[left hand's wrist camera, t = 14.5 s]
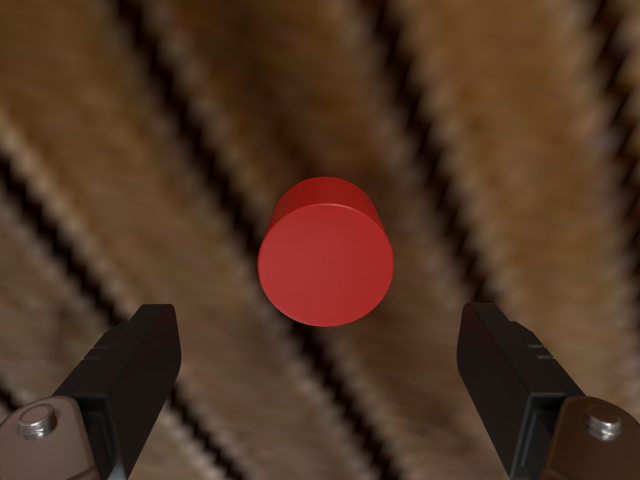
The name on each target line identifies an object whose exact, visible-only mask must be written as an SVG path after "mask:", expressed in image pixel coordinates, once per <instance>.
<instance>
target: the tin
mask: <svg viewBox="0 0 640 480" xmlns="http://www.w3.org/2000/svg"><path fill="white" fill-rule="evenodd" d="M393 272H394V256H393V251H392V247H391V244H390V242H389V240H388V237H387V235H386V233H385V230H384V228H383V225H382V223H381V221H380V218H379V216H378V214H377V211H376V209H375V207H374V205H373V203H372V201H371V200H370V198H369V197H368V196H367V195H366V194H365V193H364V192H363V191H362V190H361V189H360V188H358V187H357V186H356V185H354V184H352V183H350V182H348V181H346V180H343V179H339V178H335V177H315V178H310V179H307V180H304V181H302V182H300V183H298V184H296V185H294V186H293V187H291V188H290V189H289V190H288V191H286V192H285V193H284V195H283V196H282V197H281V198H280V199H279V201H278V202H277V204H276V206H275V208H274V210H273V213H272V216H271V219H270V222H269V225H268V227H267V230H266V233H265V236H264V239H263V241H262V244H261V247H260V250H259V255H258V275H259V279H260V283H261V285H262V287H263V290H264V292H265V293H266V295H267V297H268V298H269V299H270V301H271V302H272V303H273V304H274V305H275V306H276V307H277V308H278V309H279V310H280V311H281V312H282V313H284V314H285V315H287V316H288V317H290V318H292V319H294V320H296V321H298V322H301V323H304V324H308V325H313V326H322V327H329V326H338V325H343V324H347V323H350V322H352V321H355V320H357V319H359V318H361V317H363V316H364V315H366V314H367V313H369V312H370V311H371V310H372V309H374V308H375V307H376V306H377V305H378V304H379V302H380V301H381V300H382V299H383V297H384V296H385V294H386V293H387V291H388V289H389V286H390V284H391V281H392V278H393Z"/></svg>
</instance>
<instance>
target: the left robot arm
mask: <svg viewBox="0 0 640 480" xmlns="http://www.w3.org/2000/svg"><path fill="white" fill-rule="evenodd" d="M457 365H458V370H459V373H460V375H461V377H462V380H463V382H464V384H465V386H466V388H467V390H468V392H469V394H470V396H471V399H472V401H473V403H474V405H475V407H476V409H477V411H478V413H479V415H480V417H481V420H482V422H483V424H484V426H485V428H486V430H487V432H488V434H489V436H490V438H491V441H492V443H493V445H494V447H495V449H496V451H497V453H498V455H499V457H500V459H501V462H502V464H503V466H504V468H505V470H506V472H507V474H508V476H509V478H510V480H640V424H639V423H638V422H637V421H636V420H635V419H634V418H633V417H632V416H631V415H630V414H628V413H627V412H626V411H624V410H623V409H621V408H619V407H618V406H616V405H614V404H612V403H609V402H607V401H604V400H601V399H598V398H594V397H589V396H586V395H585V394H584V393H583V392H582V390H581V389H580V388H579V387H578V386H577V384H576V383H575V382H574V381H573V380H572V379H571V377H570V376H569V375H568V374H567V373H566V371H565V370H564V369H563V368H562V367H561V365H560V364H559V363H558V362H557V361H556V360H555V359H553V356H552V355H551V354H550V352H549V351H548V350H547V349H546V348H544V345H543V344H542V343H541V342H540V341H539V339H538V338H537V337H536V336H535V335H534V333H533V332H531V331H530V330H528V329H527V328H525V327H523V326H522V325H520V324H519V323H517V322H516V321H509V320H508V319H507V318H506V316H505V315H504V314H503V313H502V311H501V310H500V309H499V308H498V306H497V305H496V304H494V303H467V304H465V306H464V308H463V312H462V318H461V325H460V332H459V339H458V346H457ZM180 366H181V347H180V340H179V333H178V327H177V320H176V313H175V309H174V307H173V305H172V304H143V305H141V306H140V308H139V309H138V310H137V311H136V313H135V314H134V315H133V317H132V318H131V319H130V320H129V322H121V323H120V324H118V325H117V326H115V327H114V328H112V329H111V330H109V331H108V332H106V333H105V334H104V335H103V336H102V337H101V338H100V339H99V341H98V342H97V343H96V344H95V345H94V348H93V349H91V350H90V351H89V352H88V354H87V355H86V356H85V357H84V360H82V361H81V362H80V363H79V364H78V365H77V366H76V368H75V369H74V370H73V371H72V372H71V374H70V375H69V376H68V377H67V378H66V379H65V381H64V382H63V383H62V384H61V385H60V386H59V388H58V389H57V390H56V391H55V392H54V394H53V395H52V396H51V397H46V398H42V399H39V400H36V401H33V402H31V403H28V404H26V405H24V406H22V407H21V408H19V409H17V410H16V411H14V412H13V413H12V414H10V415H9V416H8V417H7V418H6V419H5V420H4V421H3V422H2V423H1V424H0V480H128V478H129V476H130V474H131V472H132V469H133V467H134V465H135V463H136V461H137V459H138V457H139V455H140V453H141V451H142V449H143V447H144V445H145V442H146V440H147V438H148V436H149V434H150V432H151V430H152V428H153V426H154V424H155V422H156V420H157V417H158V415H159V413H160V411H161V409H162V407H163V405H164V403H165V401H166V399H167V397H168V395H169V393H170V390H171V388H172V386H173V384H174V382H175V380H176V378H177V376H178V374H179V370H180Z"/></svg>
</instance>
